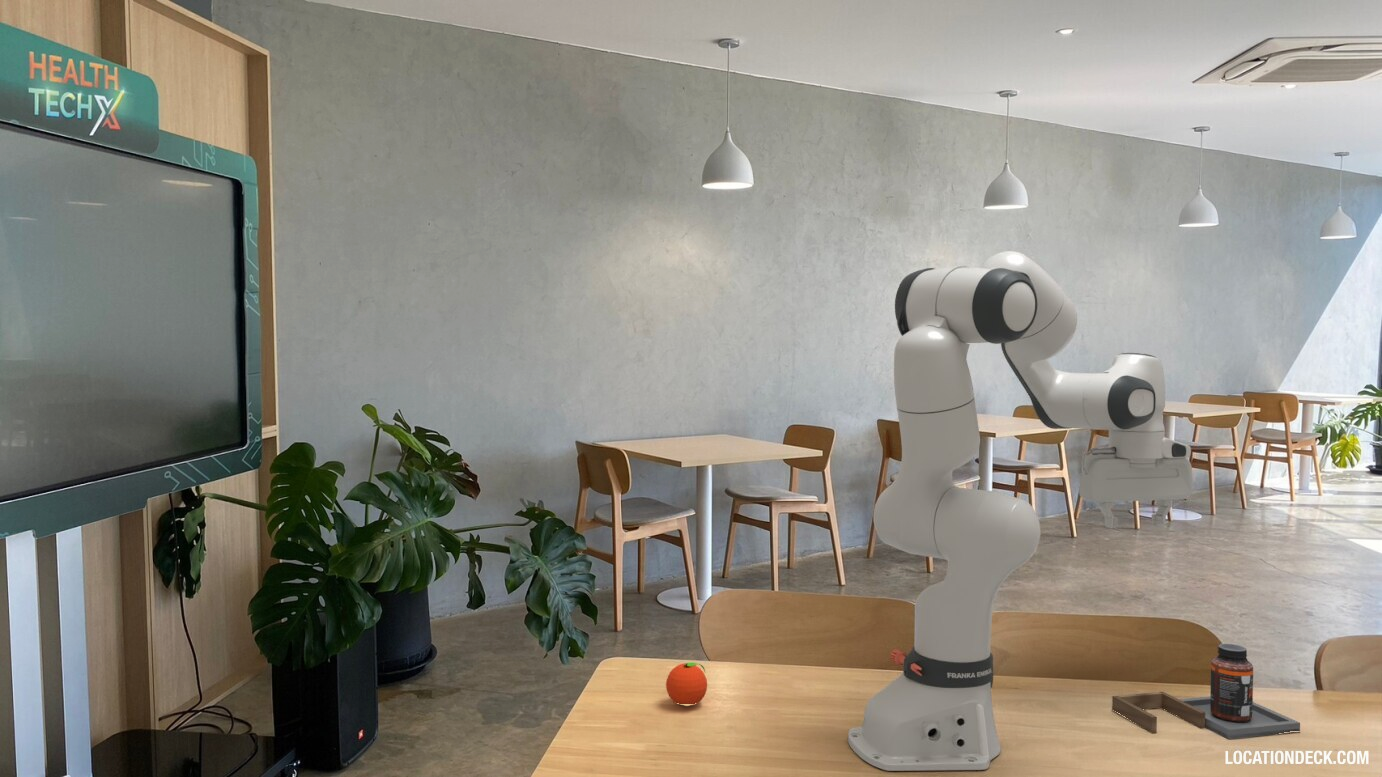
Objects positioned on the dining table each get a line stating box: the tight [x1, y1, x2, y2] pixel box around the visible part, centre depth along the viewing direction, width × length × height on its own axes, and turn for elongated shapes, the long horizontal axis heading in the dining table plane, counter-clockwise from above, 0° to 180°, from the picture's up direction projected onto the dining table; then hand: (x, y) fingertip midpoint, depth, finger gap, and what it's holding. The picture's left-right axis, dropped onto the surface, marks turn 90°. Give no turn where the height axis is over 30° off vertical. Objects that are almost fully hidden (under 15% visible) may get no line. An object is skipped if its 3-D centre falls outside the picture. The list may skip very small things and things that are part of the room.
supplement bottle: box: [1210, 643, 1254, 722], centre depth 154 cm, size 6×6×11 cm
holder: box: [1111, 691, 1206, 734], centre depth 155 cm, size 10×10×2 cm
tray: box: [1178, 695, 1301, 740], centre depth 154 cm, size 13×13×2 cm
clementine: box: [665, 662, 708, 705], centre depth 161 cm, size 8×7×7 cm
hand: (1135, 526), depth 166 cm, fingers open, 8 cm apart
